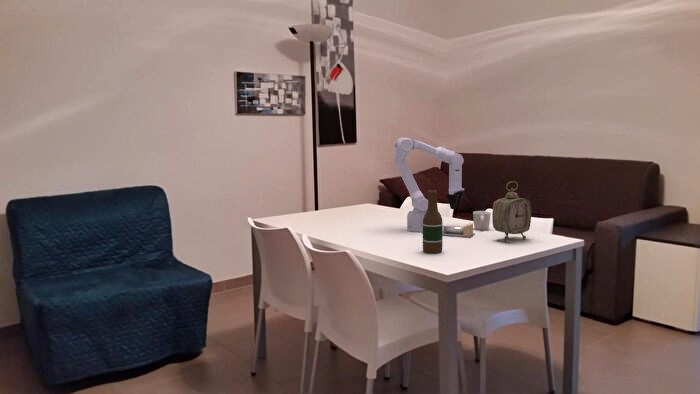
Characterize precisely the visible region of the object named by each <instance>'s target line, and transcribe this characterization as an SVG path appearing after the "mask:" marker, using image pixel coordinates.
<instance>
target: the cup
mask: <svg viewBox="0 0 700 394" xmlns="http://www.w3.org/2000/svg"><path fill="white" fill-rule="evenodd" d="M472 215H473V217H472V218H473V228H474V229H475V230H478V231H486V230H488V229H489V228H490V223H491V216H492V213H491V212H490V211H488V210H487V211H485V210H476V211H472Z"/></svg>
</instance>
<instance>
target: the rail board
mask: <svg viewBox="0 0 700 394" xmlns="http://www.w3.org/2000/svg"><path fill="white" fill-rule="evenodd" d="M463 227H464V229H463V234H458V233H444V232H443V230H442V237H449V238H464V239H465V238H466V239H471V238H473V236H475V235H476V234H475V233H474V222H473V223H472V222H471V223H470V222H469V223H468V224H465V225H464V226H463Z"/></svg>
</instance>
